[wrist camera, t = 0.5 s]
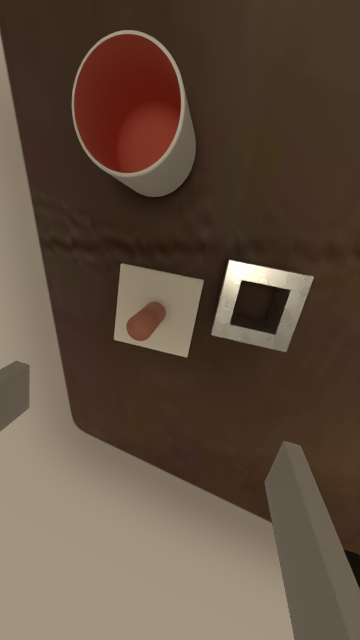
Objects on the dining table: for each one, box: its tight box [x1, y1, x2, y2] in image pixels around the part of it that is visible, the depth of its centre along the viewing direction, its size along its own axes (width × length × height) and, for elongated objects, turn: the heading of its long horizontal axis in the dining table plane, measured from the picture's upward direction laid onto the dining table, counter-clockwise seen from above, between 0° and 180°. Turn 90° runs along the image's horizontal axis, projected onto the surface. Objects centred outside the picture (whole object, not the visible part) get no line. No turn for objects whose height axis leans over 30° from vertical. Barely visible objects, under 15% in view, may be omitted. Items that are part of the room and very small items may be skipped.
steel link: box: [211, 258, 314, 352], centre depth 29 cm, size 9×9×6 cm
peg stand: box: [114, 263, 204, 357], centre depth 31 cm, size 12×12×8 cm
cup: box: [72, 30, 196, 197], centre depth 24 cm, size 10×10×10 cm
